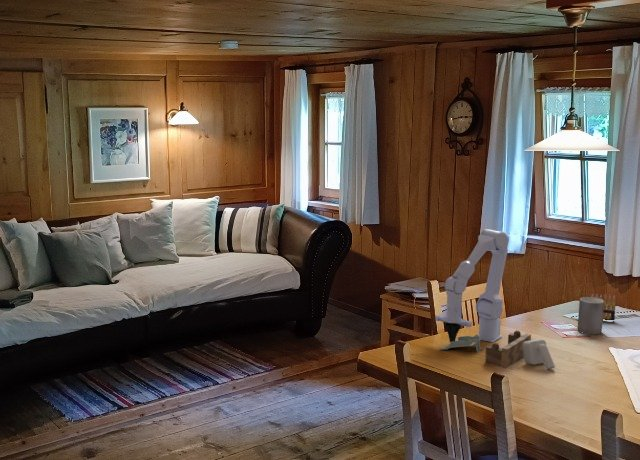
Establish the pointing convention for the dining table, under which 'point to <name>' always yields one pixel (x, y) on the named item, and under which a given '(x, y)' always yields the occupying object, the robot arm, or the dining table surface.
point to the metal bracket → (465, 342)
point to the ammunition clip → (608, 307)
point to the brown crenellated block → (507, 350)
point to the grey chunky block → (537, 353)
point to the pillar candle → (590, 315)
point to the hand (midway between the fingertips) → (452, 341)
